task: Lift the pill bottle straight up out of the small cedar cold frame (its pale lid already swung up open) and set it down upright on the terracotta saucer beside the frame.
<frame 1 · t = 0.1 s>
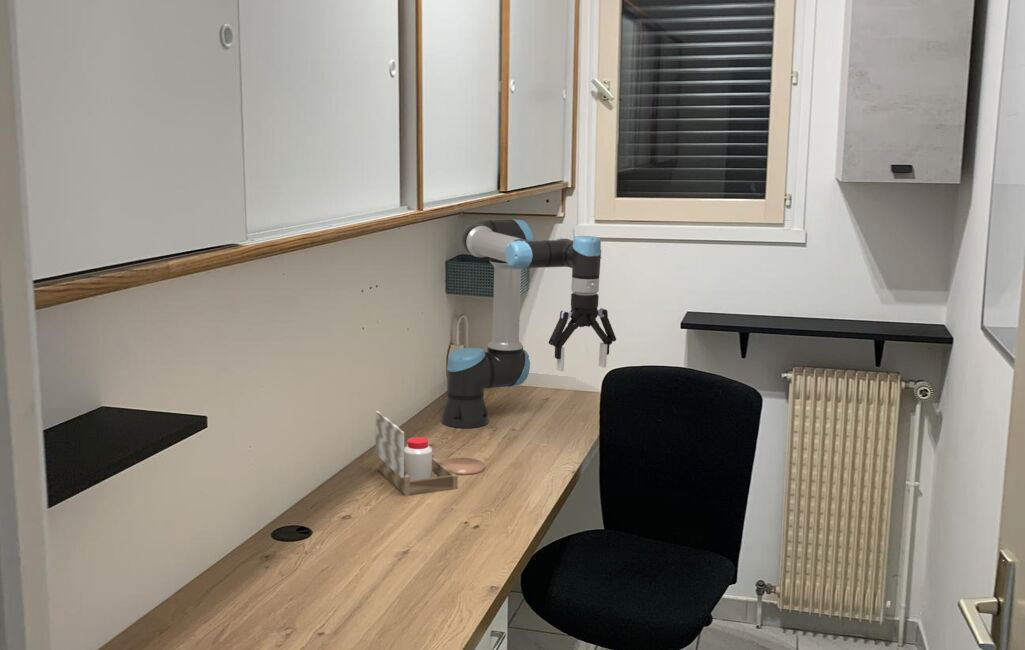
hand: (581, 368, 271), 28 cm above the table, fingers open, 13 cm apart
saucer: (463, 467, 271), on the table
pill bottle: (417, 480, 261), resting in cold frame
cold frame: (417, 479, 261), on the table
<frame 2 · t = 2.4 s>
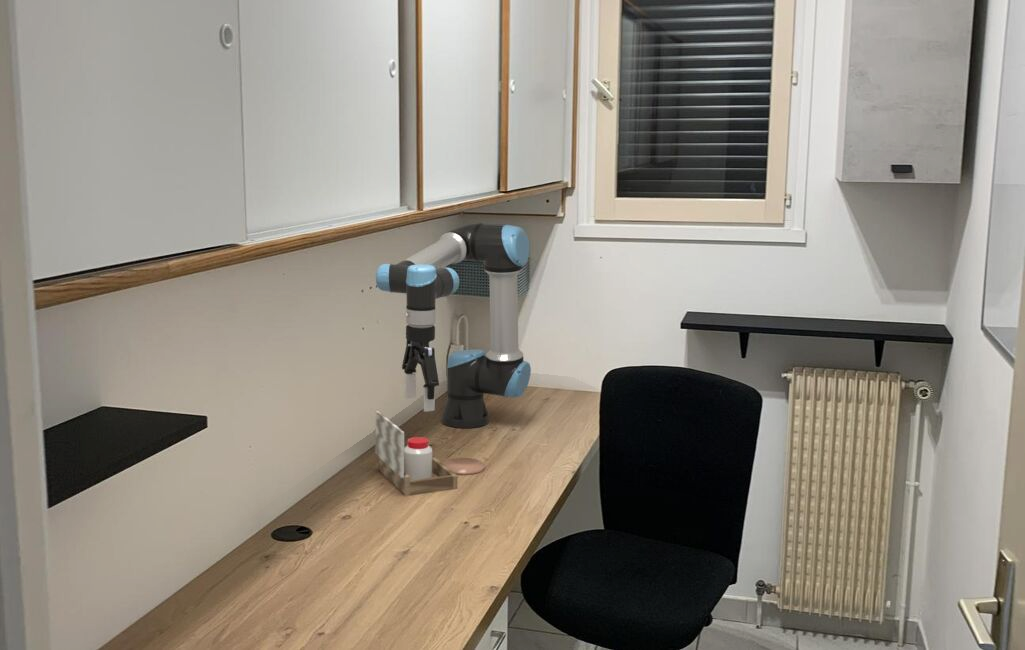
hand: (419, 404, 257), 21 cm above the table, fingers open, 13 cm apart
nothing on the table moved.
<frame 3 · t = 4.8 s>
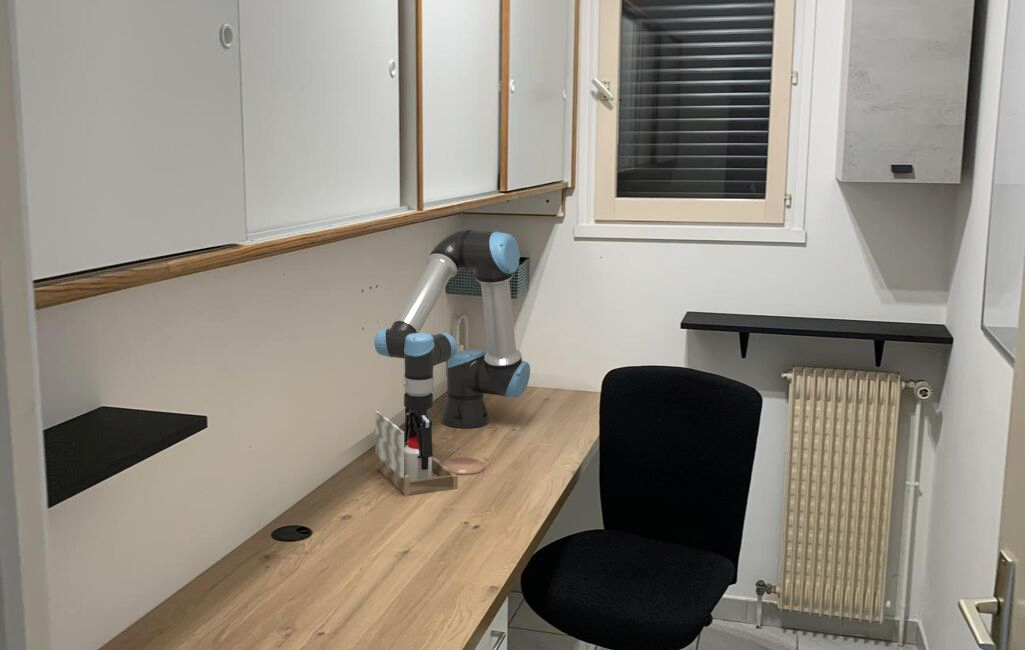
hand: (417, 475, 260), 1 cm above the table, fingers closed on pill bottle, 8 cm apart
pill bottle: (417, 480, 261), resting in cold frame, touching gripper
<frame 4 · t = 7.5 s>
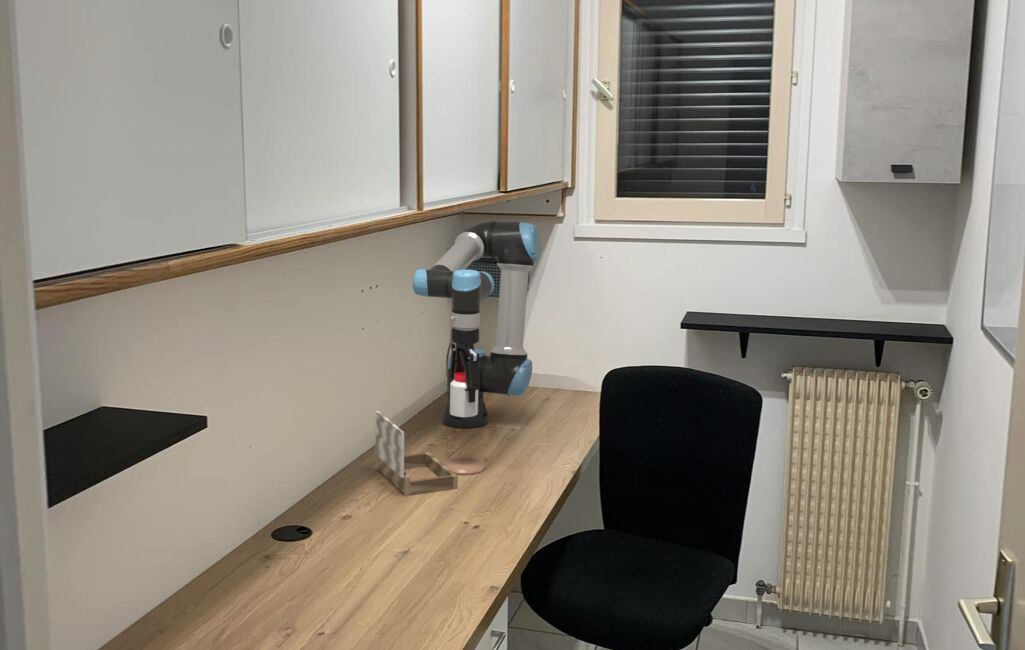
hand: (463, 408, 268), 17 cm above the table, fingers closed on pill bottle, 8 cm apart
pill bottle: (463, 413, 268), point 16 cm above the table, touching gripper
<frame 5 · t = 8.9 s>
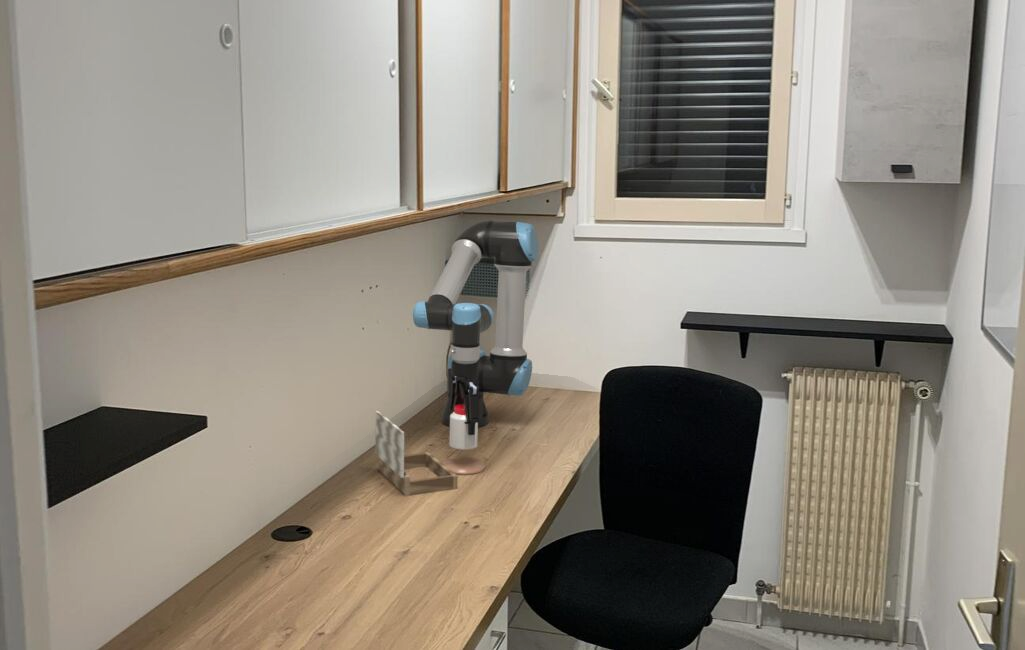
hand: (463, 441, 269), 8 cm above the table, fingers closed on pill bottle, 8 cm apart
pill bottle: (463, 445, 269), point 6 cm above the table, touching gripper
when the fingers open (3 cm above the table, at t = 10.1 s): pill bottle stays where it is, resting on saucer.
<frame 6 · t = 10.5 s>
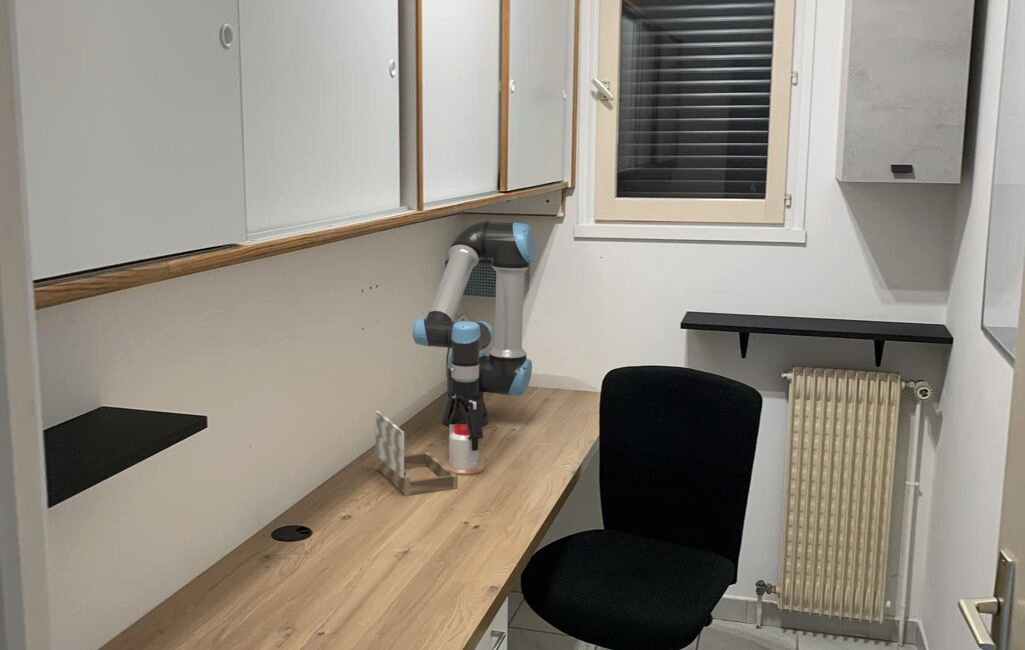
hand: (463, 453, 270), 4 cm above the table, fingers open, 12 cm apart
pill bottle: (463, 465, 271), point 1 cm above the table, touching saucer
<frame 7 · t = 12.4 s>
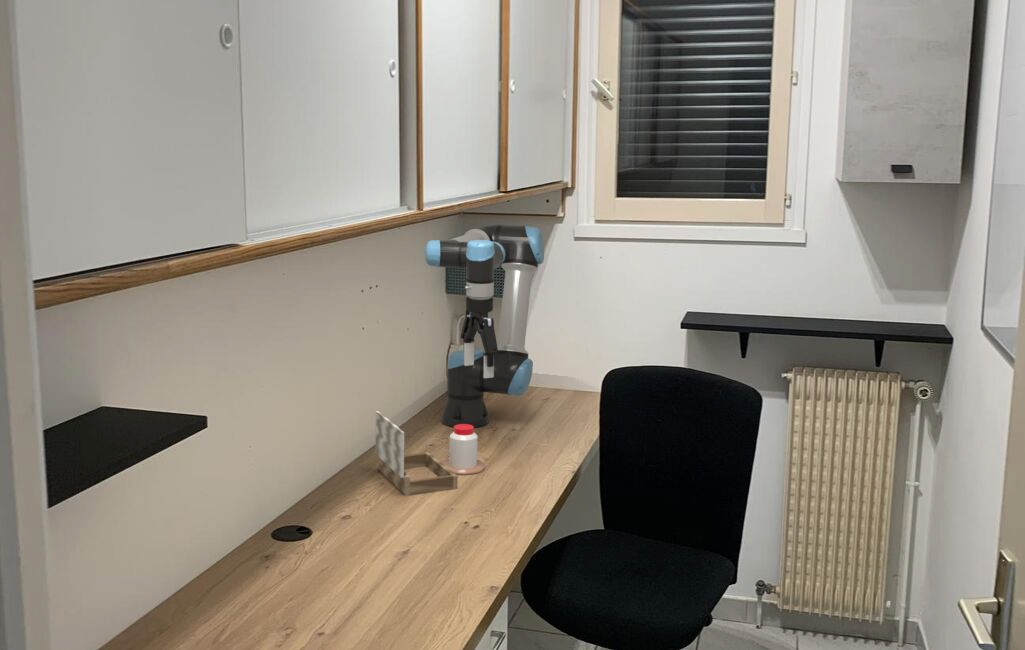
hand: (478, 371, 273), 26 cm above the table, fingers open, 13 cm apart
nothing on the table moved.
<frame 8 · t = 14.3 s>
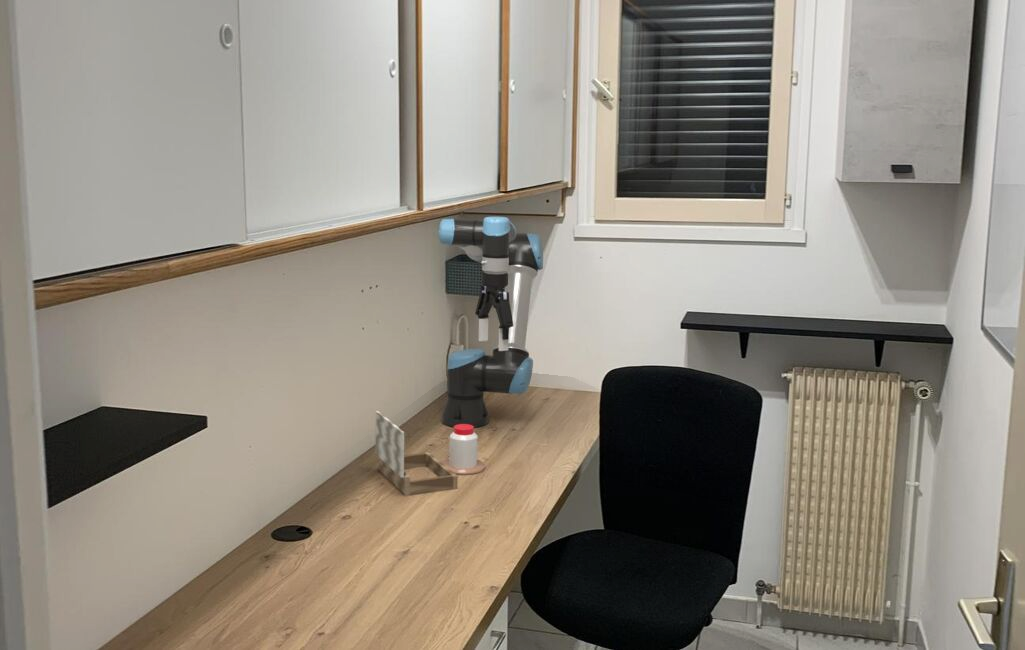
hand: (493, 345, 279), 32 cm above the table, fingers open, 13 cm apart
nothing on the table moved.
at the end: pill bottle 0.1 cm from the saucer (horizontally); pill bottle tilted 0°; the gripper is holding nothing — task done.
